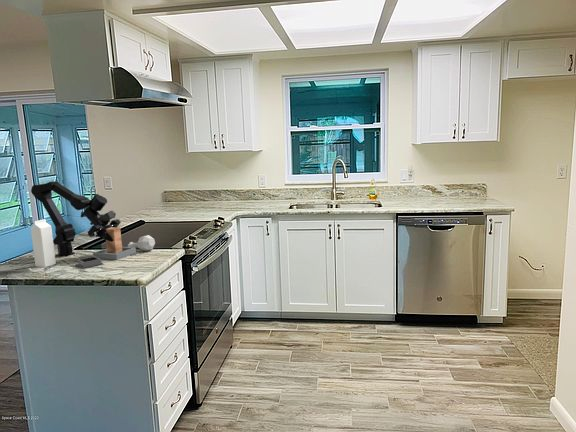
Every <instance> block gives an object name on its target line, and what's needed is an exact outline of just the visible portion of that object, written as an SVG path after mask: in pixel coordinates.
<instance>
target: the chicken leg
mask: <svg viewBox="0 0 576 432" xmlns="http://www.w3.org/2000/svg"><path fill="white" fill-rule="evenodd" d="M155 244H156V241H155V238H153V237H152V236H151V235H150V234H147V235H144V236H140V237H139V239H138V240H137V242H133V241H130V242H129V243H128V244H127V247H134V248H138V249H140V250H141V251H143V252H145V251H151V250H153V249H154V247H155Z"/></svg>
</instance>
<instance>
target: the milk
mask: <svg viewBox="0 0 576 432" xmlns="http://www.w3.org/2000/svg"><path fill="white" fill-rule="evenodd" d="M52 229H53V228H52V225H50V224H49V223H47V221H46V218H44V219H39V220H34V225H32V226H31V227H30V235H31V242H32V251H33V256H34V263H35V264H34V265H35V266H34V267H42V268H47V267H49V266H52V265H55V264H56V263H57V262H56V254H55V245H54V243H53V240H54V238H53V230H52Z"/></svg>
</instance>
